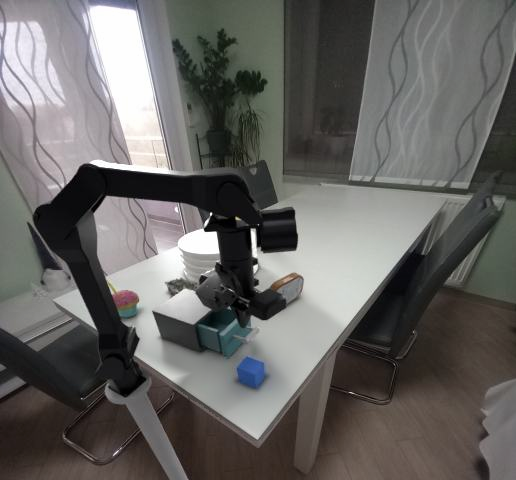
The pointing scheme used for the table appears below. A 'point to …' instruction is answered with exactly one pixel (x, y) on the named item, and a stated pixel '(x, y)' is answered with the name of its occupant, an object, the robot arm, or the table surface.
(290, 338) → the table surface
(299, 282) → the tin
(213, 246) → the plate stack
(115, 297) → the cupcake
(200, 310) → the cabinet
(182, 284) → the egg carton
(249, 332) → the drawer
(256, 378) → the blue toy brick
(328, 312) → the table surface
